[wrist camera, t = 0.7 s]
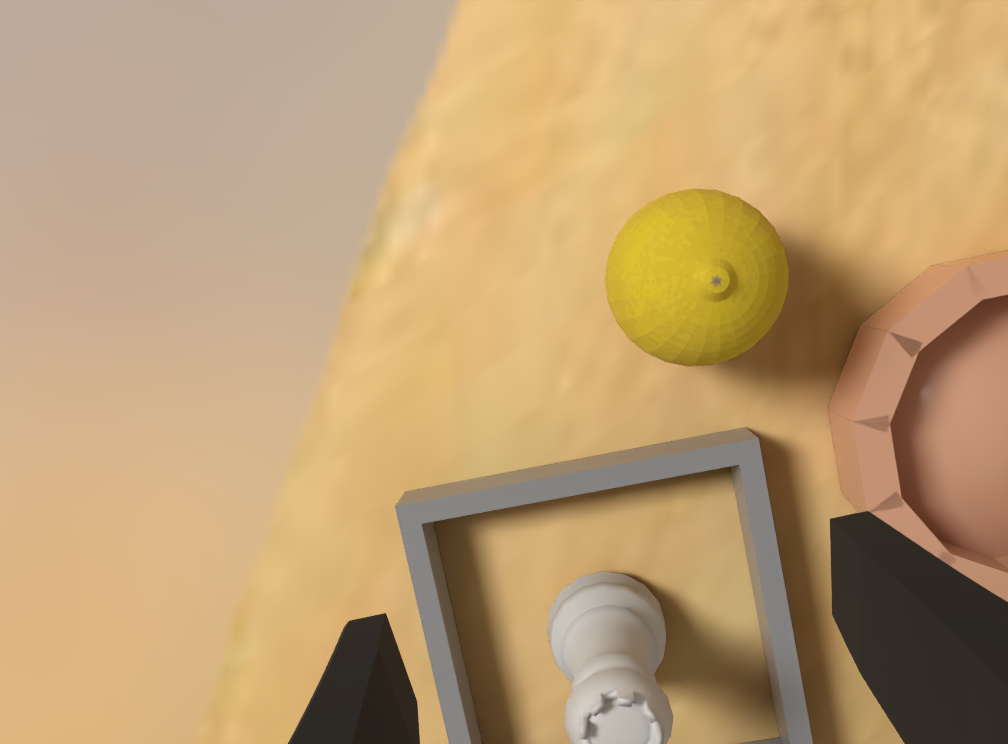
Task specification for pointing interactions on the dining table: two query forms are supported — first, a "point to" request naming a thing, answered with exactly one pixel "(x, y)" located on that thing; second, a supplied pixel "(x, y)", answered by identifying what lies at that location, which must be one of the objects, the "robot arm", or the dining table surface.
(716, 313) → the lemon
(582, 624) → the rook chess piece
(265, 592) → the dining table surface
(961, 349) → the bowl
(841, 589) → the robot arm
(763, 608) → the grey square frame
